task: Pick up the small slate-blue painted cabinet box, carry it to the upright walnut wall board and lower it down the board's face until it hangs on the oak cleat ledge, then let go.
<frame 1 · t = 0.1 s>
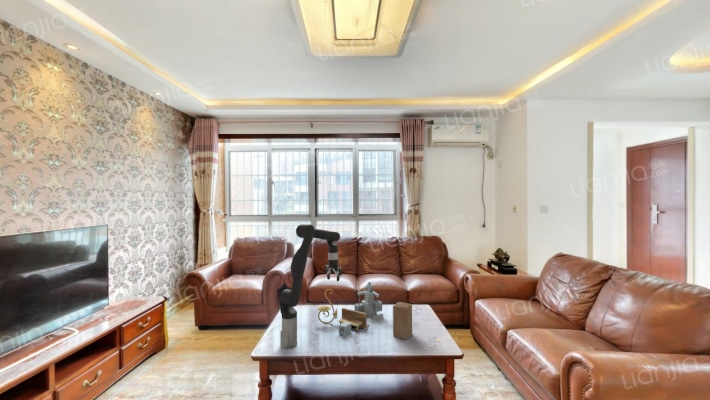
hand: (333, 280, 213), 29 cm above the table, fingers open, 8 cm apart
wall sconce: (327, 323, 206), on the table
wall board: (353, 324, 203), on the table
castle model: (367, 317, 217), on the table
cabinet: (345, 333, 190), on the table
block: (402, 335, 186), on the table
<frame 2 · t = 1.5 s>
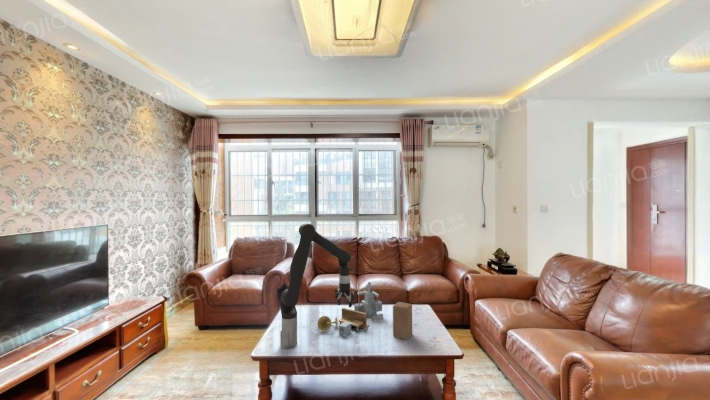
hand: (344, 305, 190), 18 cm above the table, fingers open, 8 cm apart
wall sconce: (326, 323, 205), point 1 cm above the table
everything else where it was.
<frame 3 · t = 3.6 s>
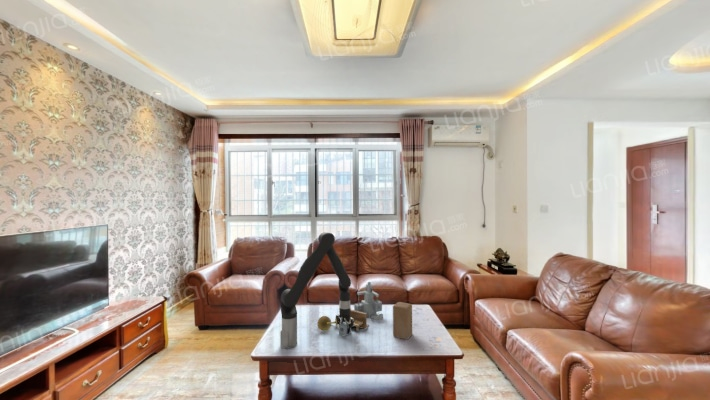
hand: (345, 332, 190), 1 cm above the table, fingers closed on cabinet, 5 cm apart
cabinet: (345, 333, 190), on the table, touching gripper
everything else where it was.
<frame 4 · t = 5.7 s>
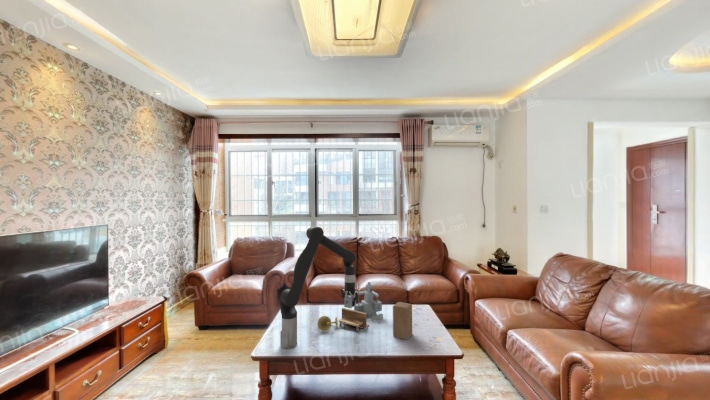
hand: (350, 305, 199), 16 cm above the table, fingers closed on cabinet, 5 cm apart
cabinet: (350, 306, 199), point 15 cm above the table, touching gripper
everything else where it was.
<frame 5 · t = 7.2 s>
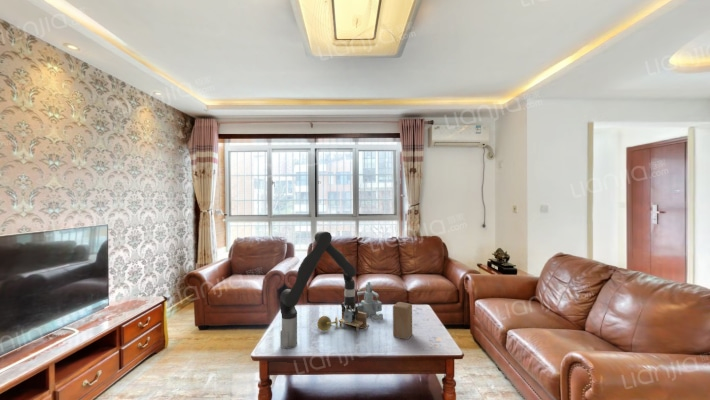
hand: (350, 319, 199), 6 cm above the table, fingers closed on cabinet, 5 cm apart
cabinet: (350, 320, 199), point 5 cm above the table, touching gripper
everything else where it was.
when the fingers open (5 cm above the table, at t = 8.1 s): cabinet stays where it is, resting on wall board.
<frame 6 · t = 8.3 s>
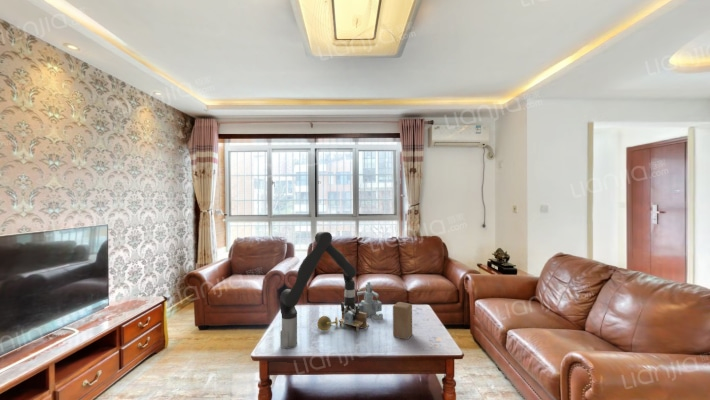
hand: (350, 319, 199), 6 cm above the table, fingers open, 7 cm apart
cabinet: (349, 321, 199), point 4 cm above the table, touching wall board
everything else where it was.
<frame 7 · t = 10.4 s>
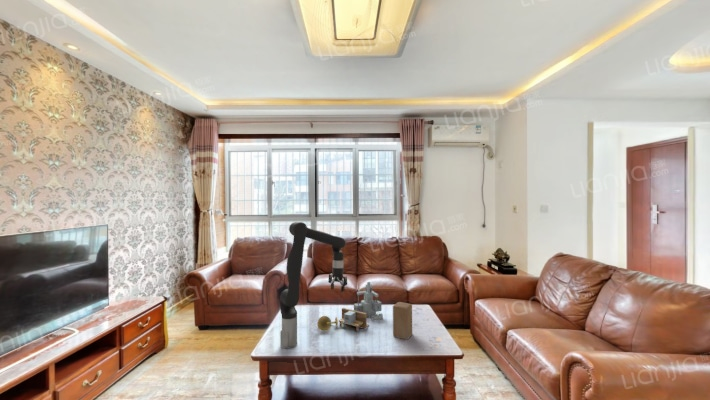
hand: (337, 290, 195), 27 cm above the table, fingers open, 8 cm apart
nothing on the table moved.
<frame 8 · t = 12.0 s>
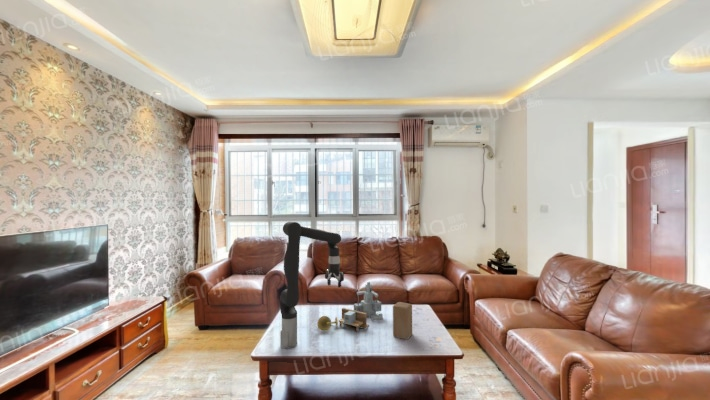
hand: (334, 286, 194), 30 cm above the table, fingers open, 8 cm apart
nothing on the table moved.
at the end: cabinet inside the target area on the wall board (0.3 cm from its centre), point 4.0 cm above the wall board's base; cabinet tilted 0°; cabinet touching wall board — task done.
